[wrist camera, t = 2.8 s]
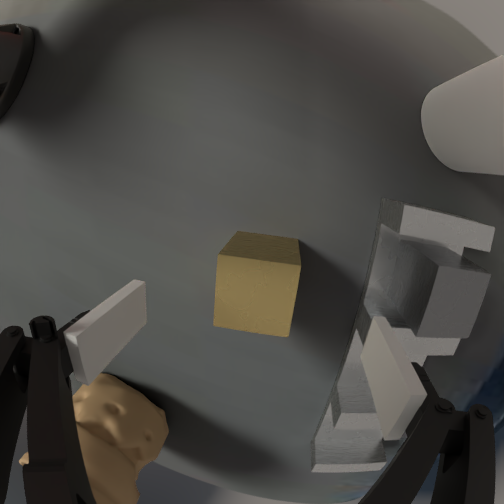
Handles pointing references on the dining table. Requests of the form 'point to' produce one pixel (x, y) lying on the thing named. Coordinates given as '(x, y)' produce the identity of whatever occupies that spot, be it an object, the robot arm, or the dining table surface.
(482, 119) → the cup
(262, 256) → the tan wooden cube
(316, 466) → the white slotted rack
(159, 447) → the container
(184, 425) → the dining table surface
